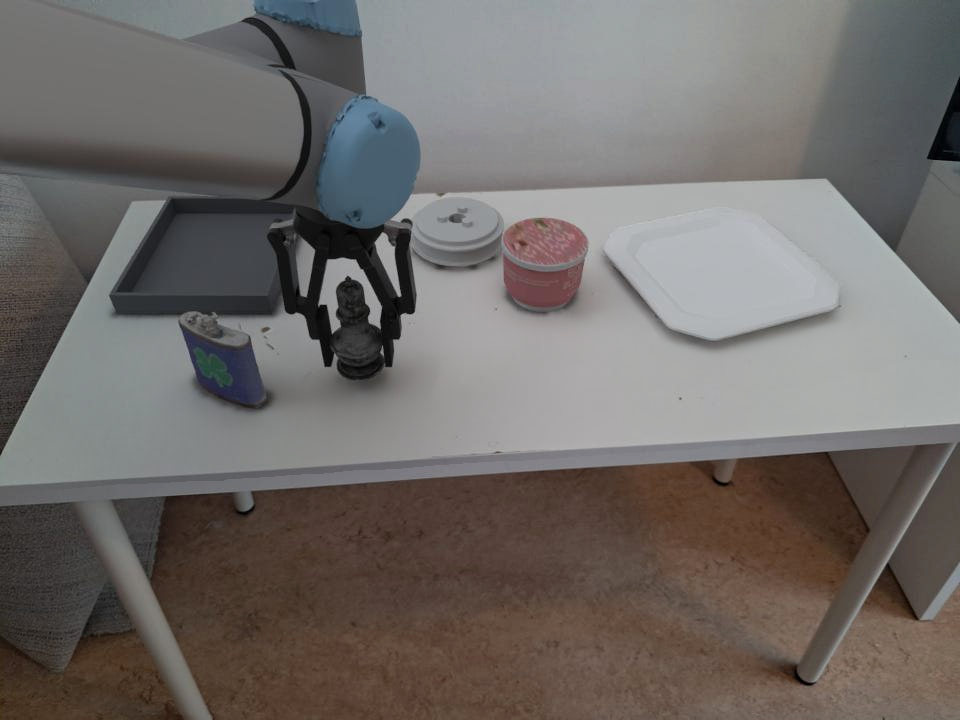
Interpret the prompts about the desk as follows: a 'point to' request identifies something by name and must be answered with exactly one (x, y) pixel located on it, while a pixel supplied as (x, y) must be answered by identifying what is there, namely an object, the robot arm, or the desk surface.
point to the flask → (223, 360)
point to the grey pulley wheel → (457, 232)
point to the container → (543, 262)
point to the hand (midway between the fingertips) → (359, 358)
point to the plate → (720, 272)
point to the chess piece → (356, 334)
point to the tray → (204, 259)
